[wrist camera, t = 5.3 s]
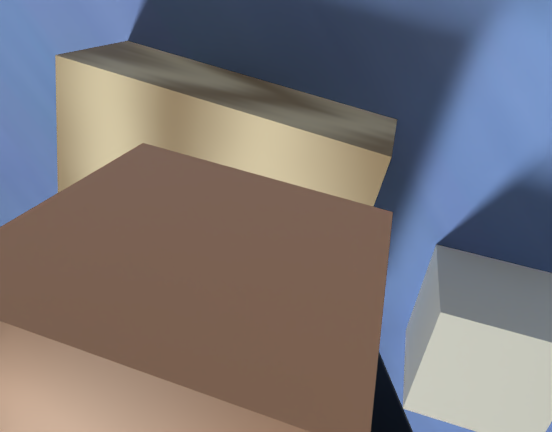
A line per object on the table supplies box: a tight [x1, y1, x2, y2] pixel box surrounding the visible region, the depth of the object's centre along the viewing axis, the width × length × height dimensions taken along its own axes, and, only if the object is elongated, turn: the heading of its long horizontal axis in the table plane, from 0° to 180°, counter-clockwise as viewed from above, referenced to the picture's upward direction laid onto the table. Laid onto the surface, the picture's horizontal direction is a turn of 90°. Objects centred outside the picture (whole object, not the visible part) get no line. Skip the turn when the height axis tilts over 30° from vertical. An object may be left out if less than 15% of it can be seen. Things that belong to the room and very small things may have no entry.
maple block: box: [55, 41, 397, 206], centre depth 20 cm, size 12×12×5 cm
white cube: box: [403, 244, 552, 432], centre depth 19 cm, size 5×5×5 cm
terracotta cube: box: [0, 143, 393, 432], centre depth 8 cm, size 5×5×5 cm
